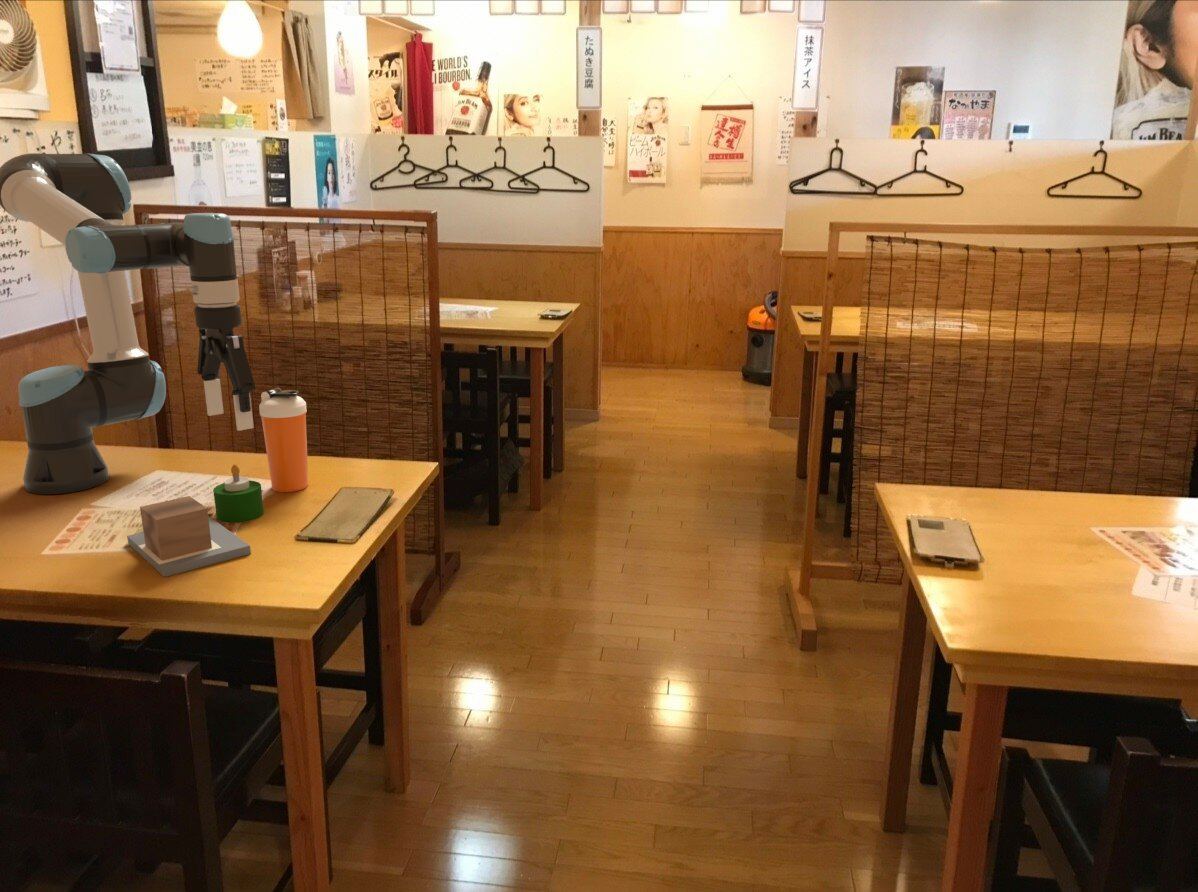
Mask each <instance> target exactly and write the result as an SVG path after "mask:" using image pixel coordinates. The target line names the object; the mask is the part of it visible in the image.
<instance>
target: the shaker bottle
mask: <svg viewBox="0 0 1198 892" xmlns="http://www.w3.org/2000/svg"><path fill="white" fill-rule="evenodd" d="M299 394H300V391H299V390H294V389H285V390H282V389H281V388H279V387H275V388H272V389H269V390H266V391H263V392H261V396H260V398H261V399H260V400H261V402H260V404H259V406H258V408H259V416H260V417H261V422H262V423H261V424H262V428H263V429H262V431H263V436H264V443H265V450H266V457H267V463H268V469H269V476H270V484H271V488H272V490H273V491H274V492H279V493H292V492H298V491H302V490H304V489H306V488H307V487H308V486H309V468H308V464H309V463H308V439H307V415H306V414H307V412H308V411H307V402H306V401H305V400H304V398H302V396H298V395H299Z"/></svg>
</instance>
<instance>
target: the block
mask: <svg viewBox="0 0 1198 892" xmlns="http://www.w3.org/2000/svg"><path fill="white" fill-rule="evenodd" d="M139 510H140V518H141V522H142V530H143V531H142V532H144V539H145V546H146V547H147V548H148V549H149V550H150V551H152V552H153V553H154V554H155V555H156V556H157V557H158V558H160V559H161V560H162V561H163V560H167V559H171V558H174V557H178V556H182V555H186V554H190V553H194V552H198V551H202V550H205V549H209V548H212V543H211V535H210V527H209V519H208V517H209V512H208V508H207V507H206V506H205V505H203V504H202V503H200V502H198V501H197V500H196V499H195V498H193V497H192V496H189V495H188V496H184V497H179V498H174V499H169V500H165V501H160V502H156V503H152V504H147V505H142V506H139Z"/></svg>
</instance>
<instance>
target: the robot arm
mask: <svg viewBox="0 0 1198 892" xmlns="http://www.w3.org/2000/svg"><path fill="white" fill-rule="evenodd" d="M131 200H132V192H131V186H130V183H129V180H128V178H127V175H126V174H125V171H124V170H123V168H122V167H121V165H119V163H118V162H117V161H116V160H115V159H114V158H112V157H111V156H108V155H105V154H94V153H88V152H87V153H39V152H38V153H37V152H36V153H35V152H33V153H24V154H20V155H17V156H14V157H12V158H10V159H8V160H7V161H6V162H4V163H3V164H2V165H1V166H0V206H1V208H2V209H3V211H5V212H6V213H8V215H10V216H12V217H14V218H15V219H17V220H20V221H22V222H26V223H27V222H29V223H32V224H33V225H35V226H36V227H38V228H39V229H40V230H41V231H43V232H45V233H46V234H47V235H49V236H50V237H52V238H53V239H55V240H56V241H58V242H59V243H61V244H63V245H64V246H65V252H66V256H67V258H68V261H69V262H70V263H71V266H72V267H73V269H74V270H75V271H77V275H78V281H79V285H80V289H81V294H82V299H83V304H84V311H85V314H86V315H85V316H86V320H87V326H88V329H89V335H90V341H91V345H92V350H93V351H92V354H91V355H90V356H89V357H88V359H87V361H86V362H87V367H88V369H87V370H84V369H83V368H82V366H81V365H76V364H64V365H61V366H59V365H56V366H50V367H46V368H42V369H40V370H36V371H33V372H31V373H28V374H26V375H25V376H23V377H22V378H21V379H20V380H19V382H18V385H17V387H18V399H19V400H18V405H19V406H20V409H21V410H20V411H21V415H22V422H23V426H24V427H23V428H24V431H25V436H26V437H25V438H26V442H27V443H26V444H27V450H28V452H27V457H26V458H27V459H26V463H25V467H24V473H23V476H22V477H23V478H22V479H23V485H24V489H26V490H27V492H29V493H30V494H31V493H32V494H37V495H60V494H68V493H69V494H70V493H74V492H75V493H76V492H82V491H85V490H89V489H91V488H92V489H93V488H95V487H98V486H101V485H102V484H104V483H105V482H107V481H108V480H109V478H110V475H109V468H108V465H107V463H106V461H105V460H104V458H103V456H102V454H101V452H100V451H99V449H98V447H97V445H96V444H95V440H94V434H93V428H98V427H103V426H109V425H112V424H117V423H122V422H128V421H132V420H134V421H139V420H141V419H143V418H147V417H152V416H155V415H156V414H158V413H159V412H160V411H161V409H162V408H163V406H164V403H165V400H166V395H167V394H166V393H167V385H166V384H167V383H166V378H165V374H164V372H163V371H162V367H161V366H160V364H159V362H156V361H154V360H151V359H150V355H149V353H148V352H147V351H145V350H144V349H143V348H141V346H140V344H139V339H138V333H137V328H136V323H135V322H136V321H135V318H134V311H133V306H132V301H131V296H130V292H129V291H130V290H129V286H128V280H127V275H126V271H135V270H149V269H163V268H176V267H187V268H189V269H188V270H189V276H190V278H189V279H190V283H191V286H190V287H188V288H189V289H188V290H189V292H190V293H192V298H193V299H192V300H193V303H195V304H196V305H195V307H194V308H193V312H194V318H195V326H196V327H197V328H198V335H199V344H198V358H197V374H198V376H200V375H201V379H202V380H203V387H204V397H205V403H206V413H207V416H208V417H209V416H210V417H211V416H217V415H223V414H224V405H223V404H224V403H223V396H222V394H223V393H222V387H221V380H220V378H221V377H222V376H221V374H220V368H221V367H220V366H221V363H222V364H223V365H224V367H225V370H226V372H227V374H228V378H229V380H230V382H231V385H232V387H233V390H232V391H231V393H230V394H231V396H233V397H232V398H233V406H234V416H235V424H236V425H235V426H236V431H238V432H239V431H244V430H249V429H254V428H255V427H254V419H253V418H254V417H253V409H252V407H253V406H252V399H251V393H252V392H253V391H256V390H257V389H256V384H255V382H254V377H253V374H252V371H251V367H250V363H249V361H248V356H247V354H246V350H245V345H244V339H243V335H235V333H234V328H237V327H240V326H241V325H242V323H243V322H242V321H243V319H242V312H241V306H240V305H239V304H238V303H239V301H240V290H239V289H240V288H239V281H238V280H239V278H238V277H237V265H236V254H235V251H236V250H235V241H234V240H235V236H234V234H233V229H232V224H231V223H232V222H231V218H230V216H228V215H227V214H226V213H222V212H217V213H215V212H194V213H187V214H185V216H184V217H183V222H180V221H165V222H162V223H150V224H149V223H146V224H145V223H144V224H124V225H123V223H124V221H125V220H124V216H123V215H124V214H126V213H127V212H129V211H130V209H131V207H132V202H131ZM26 490H25V491H26Z"/></svg>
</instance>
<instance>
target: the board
mask: <svg viewBox="0 0 1198 892" xmlns="http://www.w3.org/2000/svg"><path fill="white" fill-rule="evenodd" d="M208 519H209V527H210V535H211V543H212V548H209V549H205V550H202V551H198V552H194V553H190V554H186V555H182V556H178V557H174V558H171V559H167V560H163V561H162V560H161V559H160V558H158V557H157V556H156V555H155V554H154V553H153V552H152V551H150V550H149V549H148V548H147V547H146V546H145V539H144V532H143V531H142V532H138V533H133V534H129V535H127V544H128V546H130V547H131V548H132V549H133V550H134V551H135V552H136V553H138V554H139V555H140V556H141V557H142V559H144V560H145V561H147V563H148V564H149V565H151V566H152V567H153V568H154V569H155V570H156V571H157V572H158V573H159V574H161V575H162V577H164V578H166V577H169V576H175V575H177V574H180V573H185V572H188V571H192V570H196V569H200V568H204V567H207V566H210V565H215V564H217V563H221V562H222V563H223V562H225V561H229V560H232V559H237V558H240V557H244V556H248V555H250V554H252V553H251V545H250V544H248V543H247V542H246V541H244V540H243V539H242V538H240V537H238V536H237V535H236V534H234V532H232V531H230V530H229V529H227V528H226V527H225V526H223V525H222V524H220V522H219V521H216V520H215V519H214V518H212V517H211V516H208Z"/></svg>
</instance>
